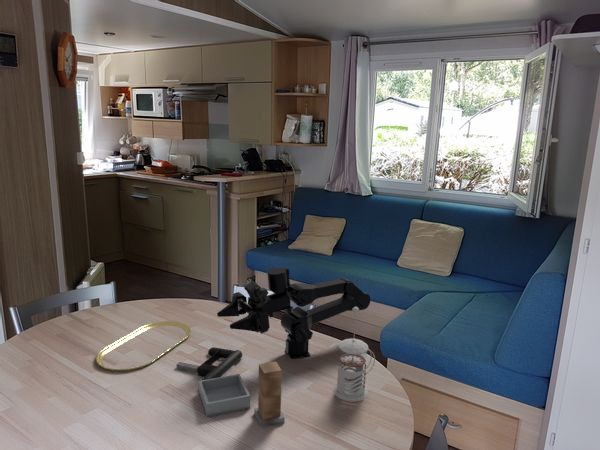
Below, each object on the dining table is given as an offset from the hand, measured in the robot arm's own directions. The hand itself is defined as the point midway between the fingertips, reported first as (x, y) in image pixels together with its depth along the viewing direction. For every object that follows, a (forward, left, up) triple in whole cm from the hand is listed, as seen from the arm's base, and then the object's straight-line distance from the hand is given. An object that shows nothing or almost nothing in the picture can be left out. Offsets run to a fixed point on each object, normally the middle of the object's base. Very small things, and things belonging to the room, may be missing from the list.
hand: (223, 320), depth 131 cm
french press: (-32, +20, -17) cm, 42 cm away
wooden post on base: (-6, +24, -17) cm, 30 cm away
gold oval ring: (+20, -25, -17) cm, 36 cm away
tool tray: (+3, +13, -17) cm, 22 cm away
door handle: (+4, -4, -17) cm, 18 cm away
